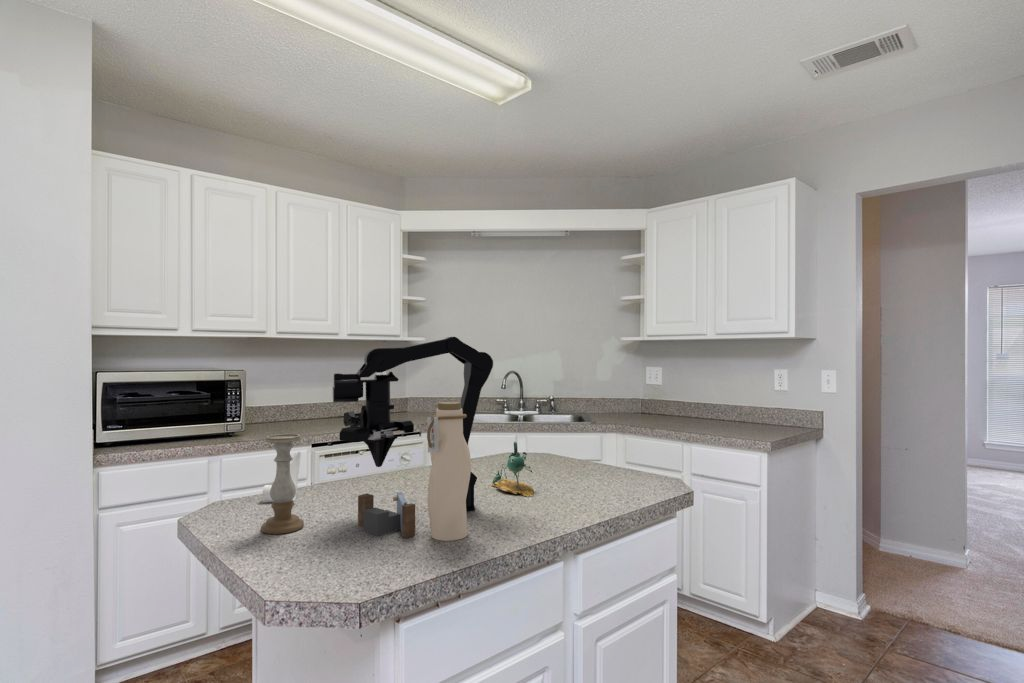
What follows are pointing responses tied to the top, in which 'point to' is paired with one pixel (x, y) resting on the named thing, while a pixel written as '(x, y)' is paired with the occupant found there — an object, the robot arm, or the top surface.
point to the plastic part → (294, 475)
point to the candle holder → (282, 488)
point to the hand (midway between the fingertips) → (378, 466)
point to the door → (400, 505)
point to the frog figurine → (515, 466)
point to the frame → (407, 514)
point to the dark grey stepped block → (380, 521)
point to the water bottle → (448, 473)
